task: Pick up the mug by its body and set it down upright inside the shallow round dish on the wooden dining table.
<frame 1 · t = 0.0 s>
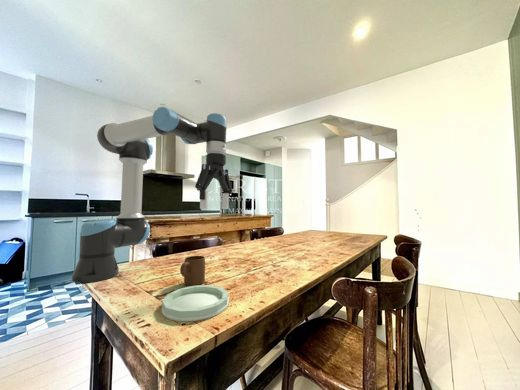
hand: (215, 209, 81), 28 cm above the table, fingers open, 13 cm apart
shallow round dish: (196, 304, 62), on the table
mug: (191, 285, 79), on the table
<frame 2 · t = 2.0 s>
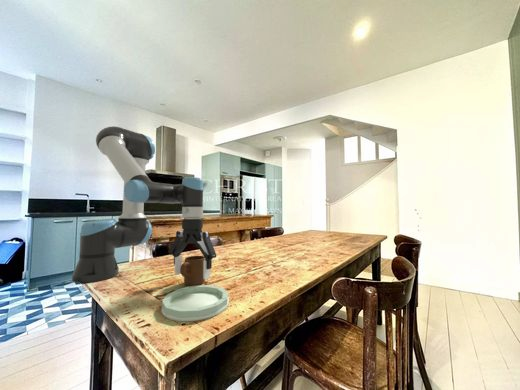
hand: (191, 276, 79), 3 cm above the table, fingers open, 13 cm apart
nothing on the table moved.
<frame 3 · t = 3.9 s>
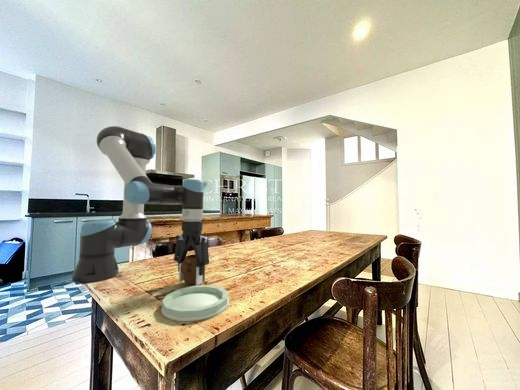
hand: (190, 282, 79), 1 cm above the table, fingers closed on mug, 7 cm apart
mug: (191, 283, 79), on the table, touching gripper
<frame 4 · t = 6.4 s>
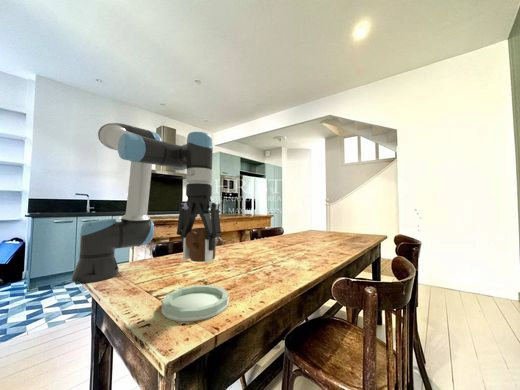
hand: (197, 260, 63), 13 cm above the table, fingers closed on mug, 7 cm apart
mug: (198, 261, 63), point 12 cm above the table, touching gripper
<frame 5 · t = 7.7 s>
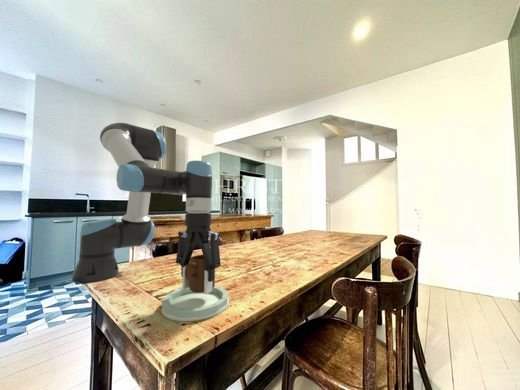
hand: (197, 290, 63), 4 cm above the table, fingers closed on mug, 7 cm apart
mug: (198, 291, 63), point 4 cm above the table, touching gripper
when the fingers open (3 cm above the table, at t = 8.8 s): mug drops 2 cm, resting on shallow round dish.
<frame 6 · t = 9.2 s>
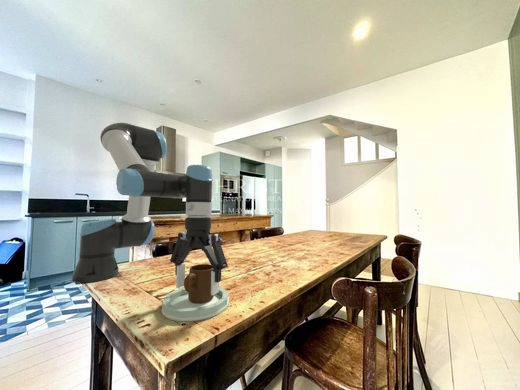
hand: (197, 289, 63), 4 cm above the table, fingers open, 12 cm apart
mug: (197, 302, 62), point 1 cm above the table, touching shallow round dish
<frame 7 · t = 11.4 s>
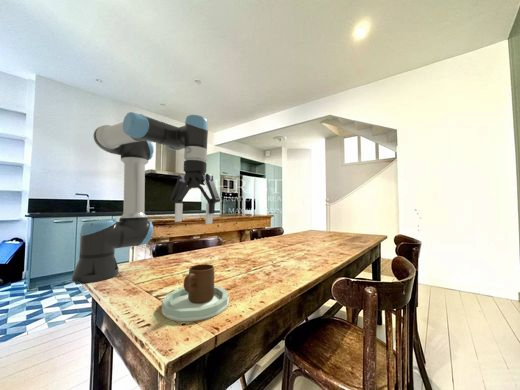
hand: (193, 222, 73), 23 cm above the table, fingers open, 13 cm apart
nothing on the table moved.
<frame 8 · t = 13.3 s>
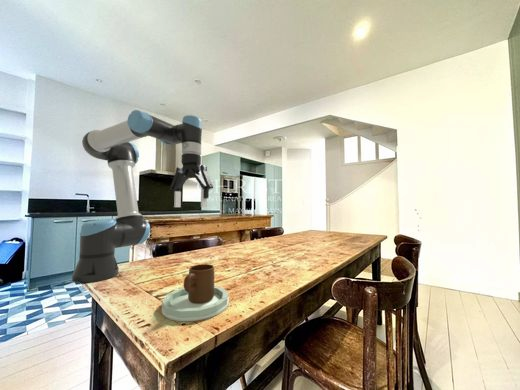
hand: (190, 207, 85), 29 cm above the table, fingers open, 13 cm apart
nothing on the table moved.
at the end: mug 0.1 cm from the shallow round dish (horizontally); mug inside the target area on the shallow round dish (0.1 cm from its centre), point 0.6 cm above the shallow round dish's base; mug tilted 0° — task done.
